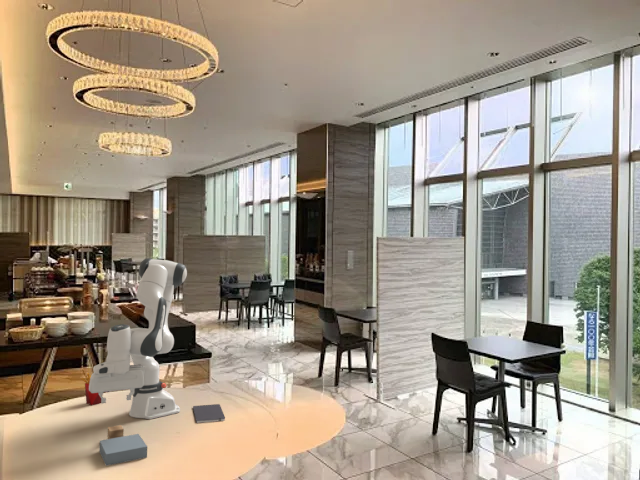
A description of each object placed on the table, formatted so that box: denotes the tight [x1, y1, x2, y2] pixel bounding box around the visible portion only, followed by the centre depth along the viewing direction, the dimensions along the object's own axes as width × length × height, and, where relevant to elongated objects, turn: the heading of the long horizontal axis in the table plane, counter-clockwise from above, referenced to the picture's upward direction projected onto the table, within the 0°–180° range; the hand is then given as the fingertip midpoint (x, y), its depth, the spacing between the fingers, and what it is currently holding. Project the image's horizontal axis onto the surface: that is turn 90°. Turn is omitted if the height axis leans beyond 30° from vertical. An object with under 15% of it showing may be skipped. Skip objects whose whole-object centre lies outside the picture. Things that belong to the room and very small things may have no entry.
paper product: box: [192, 403, 226, 424], centre depth 225 cm, size 13×2×21 cm
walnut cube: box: [106, 424, 125, 439], centre depth 191 cm, size 5×5×5 cm
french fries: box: [81, 372, 102, 406], centre depth 235 cm, size 9×8×15 cm
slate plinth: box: [98, 433, 148, 467], centre depth 179 cm, size 14×14×4 cm
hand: (116, 401), depth 191 cm, fingers open, 8 cm apart
